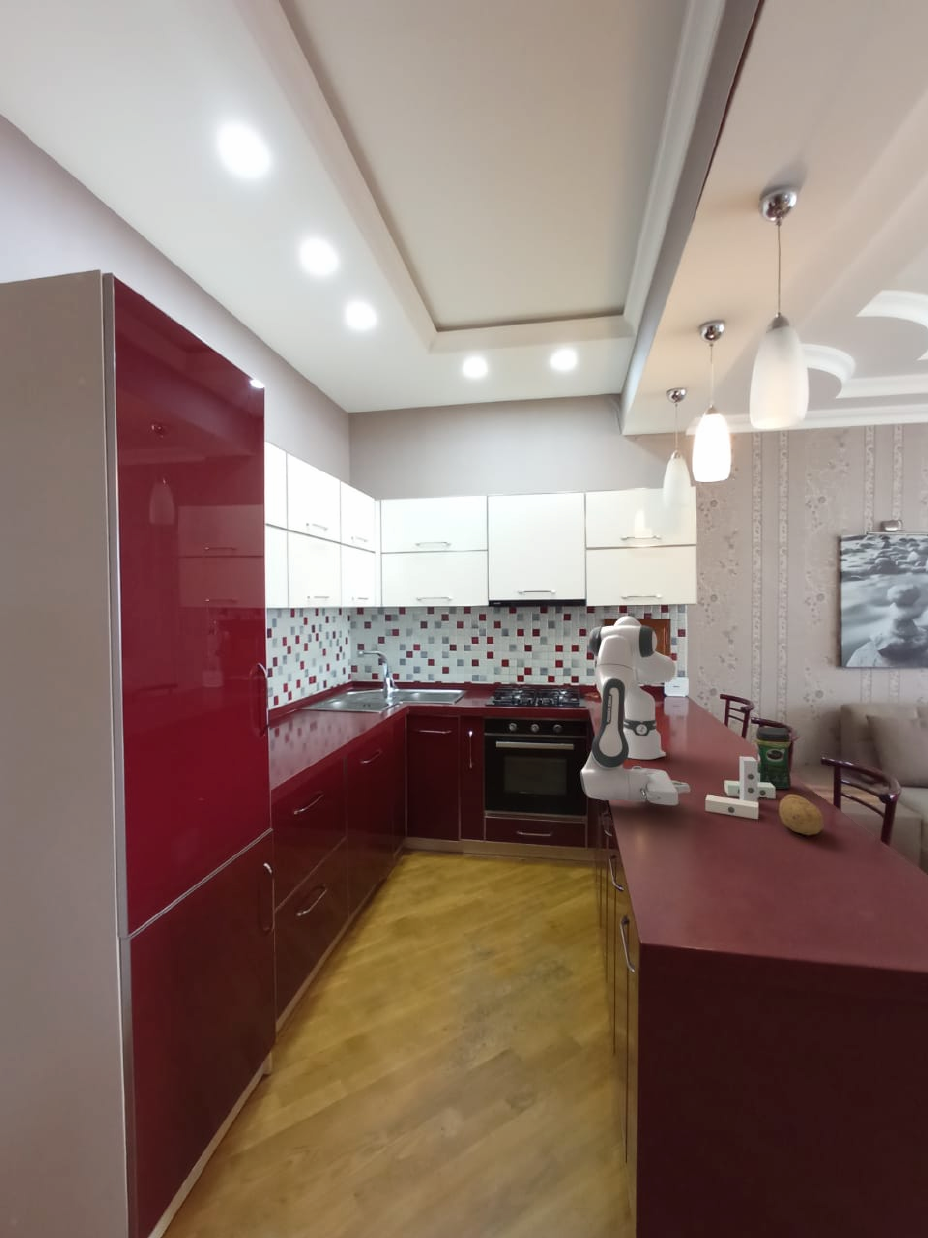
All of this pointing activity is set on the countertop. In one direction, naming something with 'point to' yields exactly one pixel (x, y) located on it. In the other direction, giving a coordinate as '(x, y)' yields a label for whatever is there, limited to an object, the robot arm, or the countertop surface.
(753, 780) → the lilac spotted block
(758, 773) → the coffee jar
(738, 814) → the one-pip tile
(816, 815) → the potato
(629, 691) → the robot arm
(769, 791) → the white block
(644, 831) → the countertop surface
